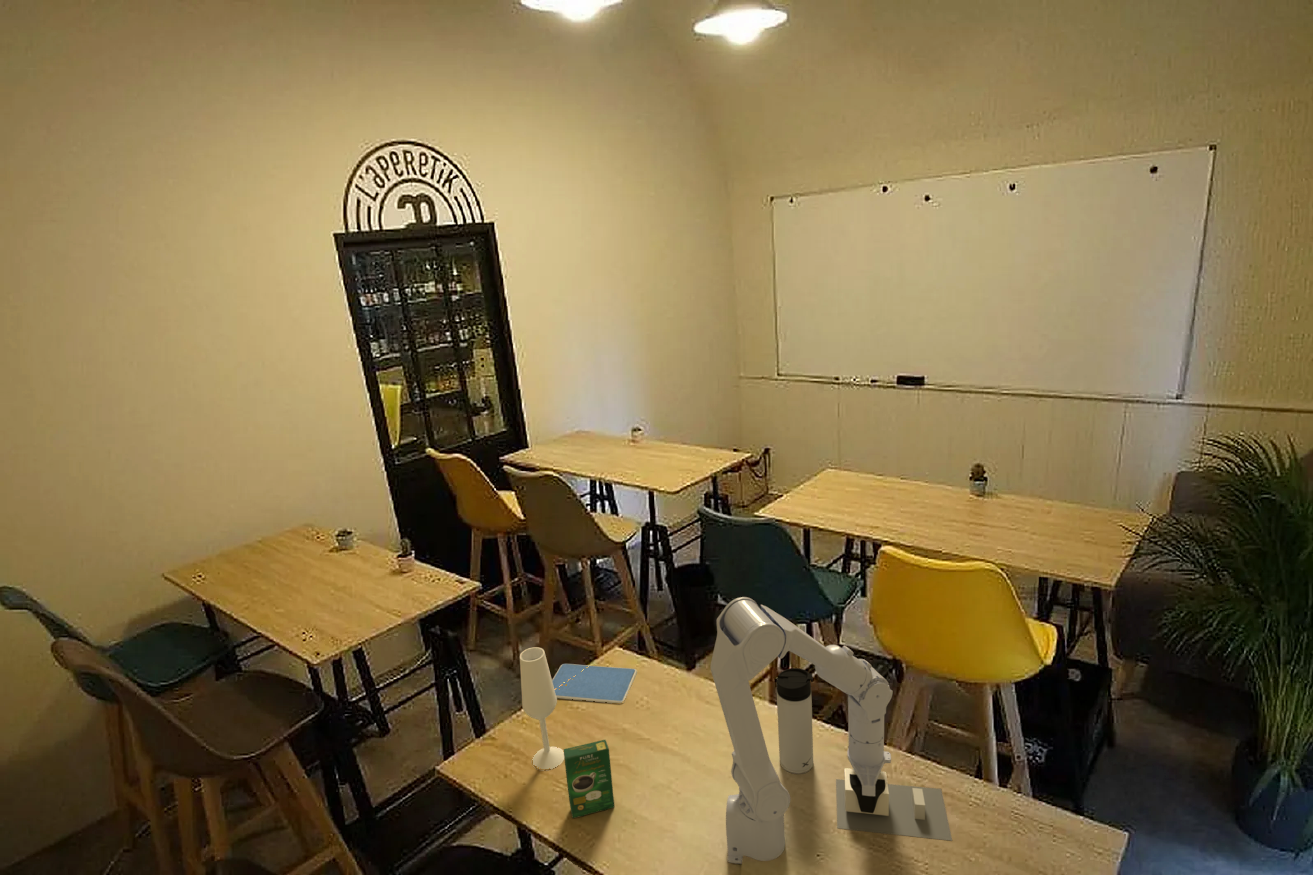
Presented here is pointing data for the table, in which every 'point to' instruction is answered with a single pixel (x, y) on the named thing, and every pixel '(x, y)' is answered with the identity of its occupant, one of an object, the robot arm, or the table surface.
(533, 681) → the champagne flute
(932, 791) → the board
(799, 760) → the travel mug
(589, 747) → the coffee box
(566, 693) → the tablet computer
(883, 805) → the cream rectangular block
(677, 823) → the table surface
